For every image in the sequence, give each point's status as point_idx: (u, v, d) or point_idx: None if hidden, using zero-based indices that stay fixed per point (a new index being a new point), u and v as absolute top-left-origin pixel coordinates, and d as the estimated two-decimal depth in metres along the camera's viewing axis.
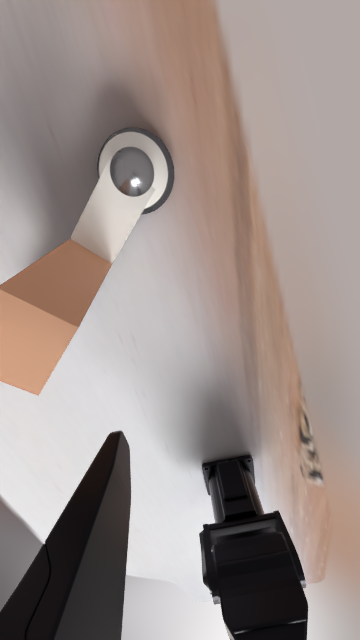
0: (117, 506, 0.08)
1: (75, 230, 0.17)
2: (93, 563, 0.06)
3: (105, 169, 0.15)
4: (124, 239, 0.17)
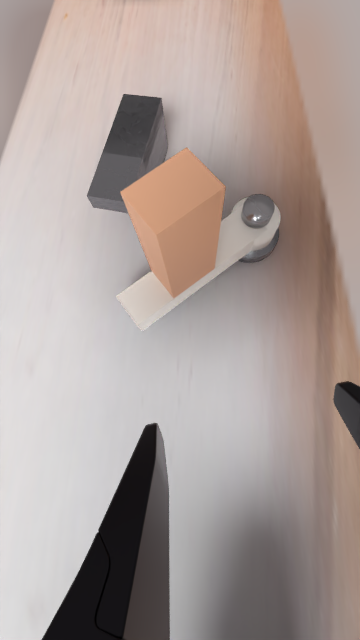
0: (160, 497, 0.08)
1: None
2: (147, 552, 0.06)
3: (237, 210, 0.22)
4: (232, 254, 0.21)
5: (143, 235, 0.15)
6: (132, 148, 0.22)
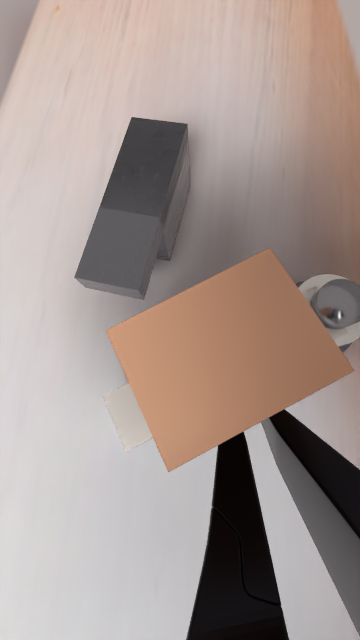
0: None
1: None
2: None
3: (304, 292, 0.15)
4: None
5: None
6: (144, 201, 0.15)
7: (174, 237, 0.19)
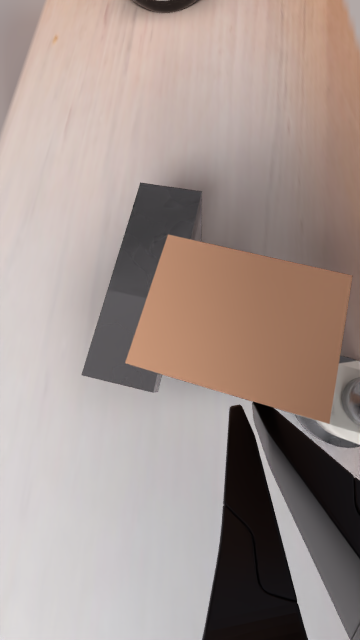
0: None
1: None
2: None
3: (352, 369, 0.13)
4: None
5: None
6: None
7: None
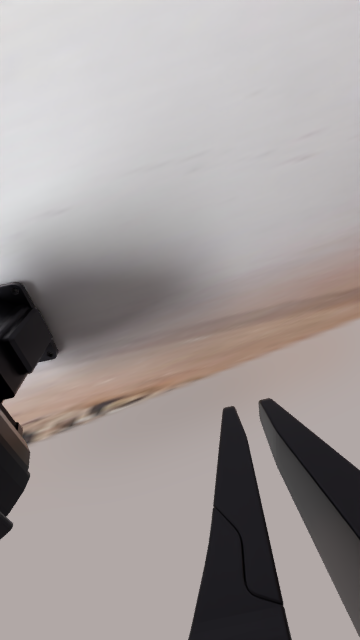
0: None
1: None
2: None
3: None
4: None
5: None
6: None
7: None
